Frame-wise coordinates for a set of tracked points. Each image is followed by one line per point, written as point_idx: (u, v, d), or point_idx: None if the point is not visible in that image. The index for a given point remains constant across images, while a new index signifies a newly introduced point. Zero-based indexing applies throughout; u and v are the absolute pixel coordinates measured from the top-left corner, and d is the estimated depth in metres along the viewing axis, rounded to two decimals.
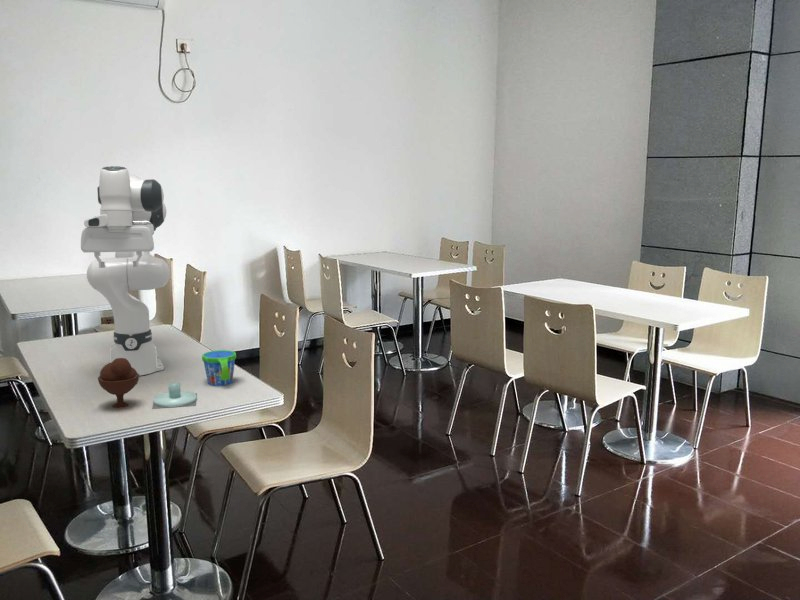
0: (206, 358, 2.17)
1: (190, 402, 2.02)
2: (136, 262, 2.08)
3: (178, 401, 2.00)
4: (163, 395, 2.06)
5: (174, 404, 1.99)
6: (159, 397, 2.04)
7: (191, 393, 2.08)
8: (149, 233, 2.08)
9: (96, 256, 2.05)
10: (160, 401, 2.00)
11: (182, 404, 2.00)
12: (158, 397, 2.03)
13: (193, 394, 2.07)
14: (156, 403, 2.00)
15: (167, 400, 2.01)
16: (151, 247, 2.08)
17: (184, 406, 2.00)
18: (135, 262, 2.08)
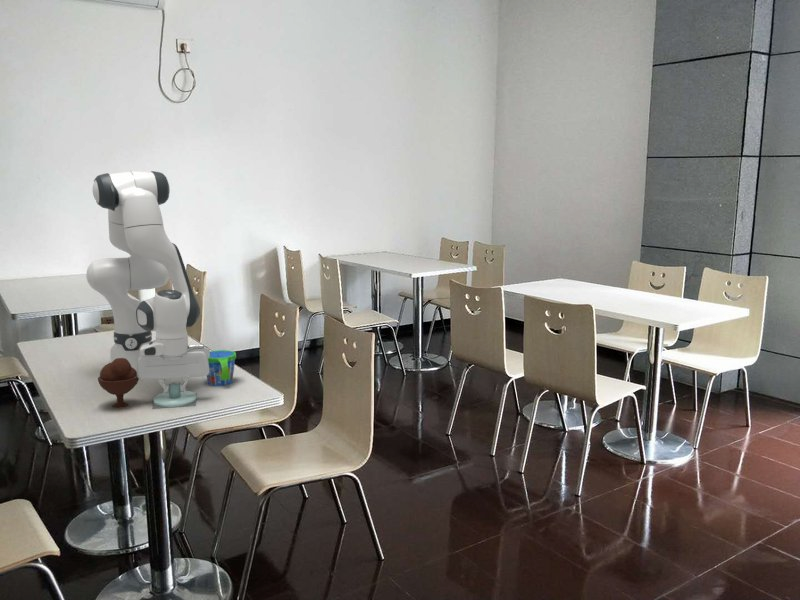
0: None
1: (190, 402, 2.02)
2: (183, 387, 2.04)
3: (178, 401, 2.00)
4: (163, 395, 2.05)
5: (174, 404, 1.99)
6: (159, 397, 2.04)
7: (191, 393, 2.08)
8: (205, 358, 2.03)
9: (161, 382, 2.02)
10: (160, 401, 2.00)
11: (182, 404, 2.00)
12: (158, 397, 2.03)
13: (193, 394, 2.07)
14: (156, 403, 2.00)
15: (167, 400, 2.01)
16: (207, 372, 2.04)
17: (184, 406, 2.00)
18: (182, 387, 2.04)
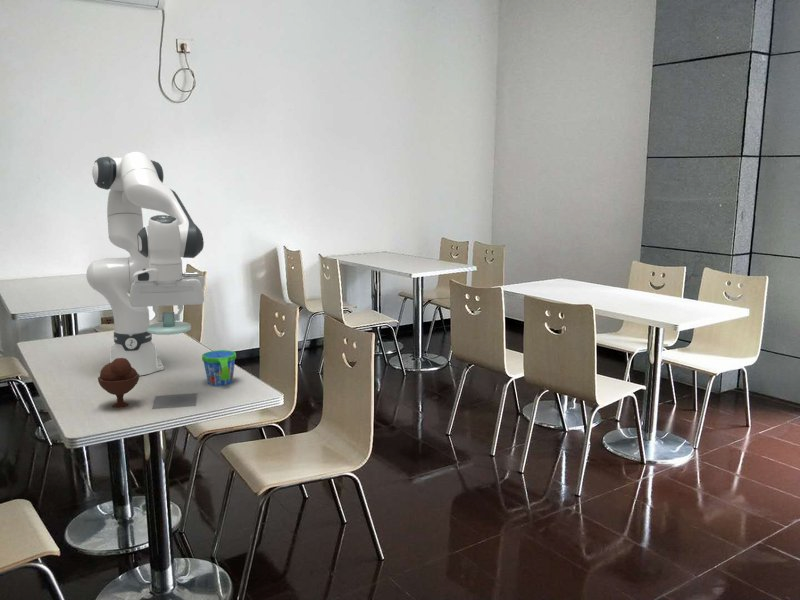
0: (206, 358, 2.17)
1: (184, 330, 1.98)
2: (177, 316, 2.00)
3: (172, 329, 1.96)
4: (156, 324, 2.01)
5: (168, 331, 1.95)
6: (153, 326, 2.00)
7: (185, 323, 2.04)
8: (200, 286, 1.99)
9: (154, 310, 1.98)
10: (153, 329, 1.96)
11: (176, 332, 1.96)
12: (152, 326, 1.99)
13: (187, 324, 2.03)
14: (150, 331, 1.96)
15: (161, 328, 1.97)
16: (202, 300, 2.00)
17: (184, 406, 2.00)
18: (176, 316, 2.00)
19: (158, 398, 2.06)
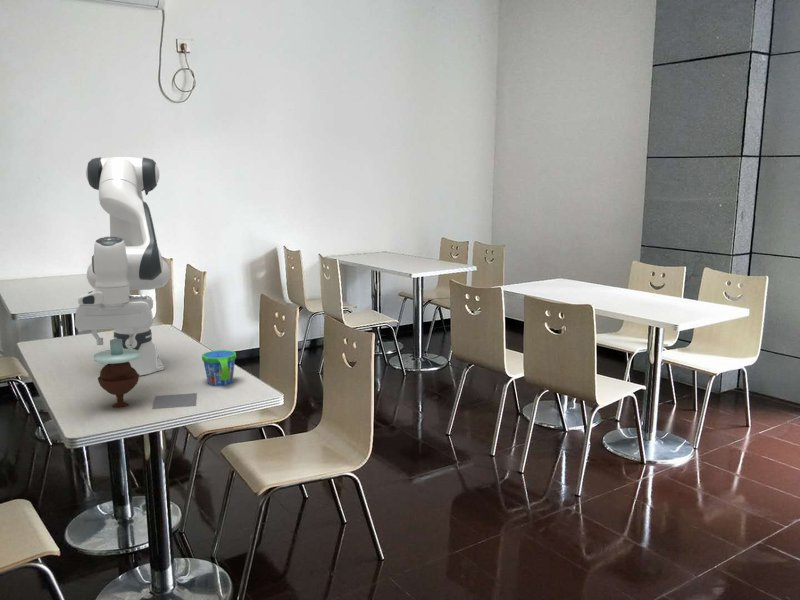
0: (206, 358, 2.17)
1: (132, 359, 1.94)
2: (132, 338, 1.97)
3: (119, 357, 1.93)
4: (104, 352, 1.98)
5: (114, 360, 1.91)
6: (100, 354, 1.96)
7: (134, 351, 2.00)
8: (148, 309, 1.95)
9: (93, 333, 1.94)
10: (100, 357, 1.93)
11: (123, 360, 1.92)
12: (99, 354, 1.96)
13: (136, 351, 1.99)
14: (96, 359, 1.93)
15: (108, 356, 1.94)
16: (150, 323, 1.96)
17: (184, 406, 2.00)
18: (131, 338, 1.97)
19: (158, 398, 2.06)
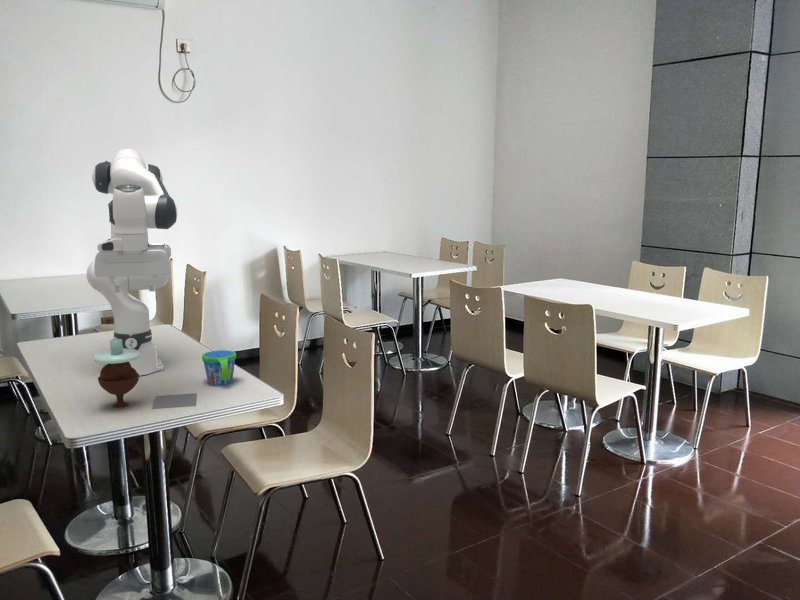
0: (206, 358, 2.17)
1: (132, 359, 1.94)
2: (152, 286, 1.98)
3: (119, 357, 1.93)
4: (104, 352, 1.98)
5: (114, 360, 1.91)
6: (100, 354, 1.96)
7: (134, 351, 2.00)
8: (166, 257, 1.97)
9: (111, 281, 1.95)
10: (100, 357, 1.93)
11: (123, 360, 1.92)
12: (99, 354, 1.96)
13: (136, 351, 1.99)
14: (96, 359, 1.93)
15: (108, 356, 1.94)
16: (168, 271, 1.98)
17: (184, 406, 2.00)
18: (151, 286, 1.98)
19: (158, 398, 2.06)
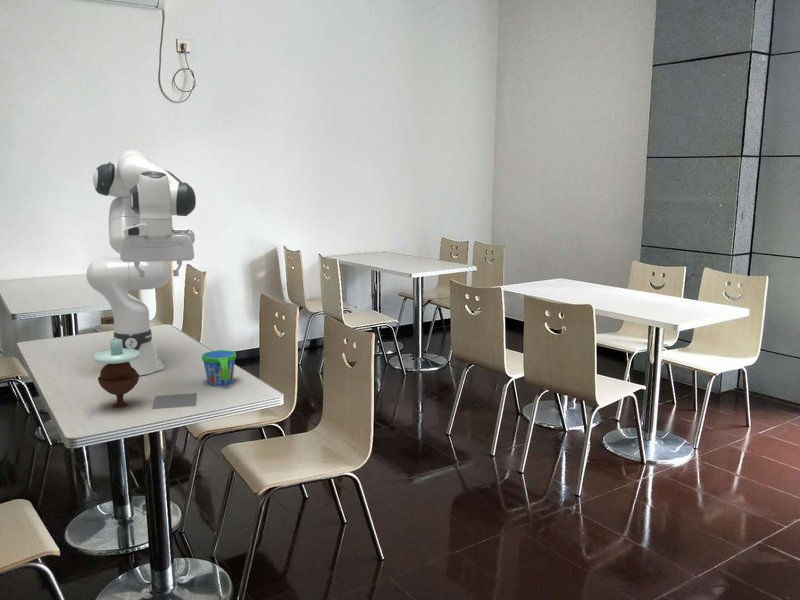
0: (206, 358, 2.17)
1: (132, 359, 1.94)
2: (176, 271, 2.02)
3: (119, 357, 1.93)
4: (104, 352, 1.98)
5: (114, 360, 1.91)
6: (100, 354, 1.96)
7: (134, 351, 2.00)
8: (190, 242, 2.01)
9: (136, 265, 1.99)
10: (100, 357, 1.93)
11: (123, 360, 1.92)
12: (99, 354, 1.96)
13: (136, 351, 1.99)
14: (96, 359, 1.93)
15: (108, 356, 1.94)
16: (192, 256, 2.02)
17: (184, 406, 2.00)
18: (175, 271, 2.02)
19: (158, 398, 2.06)
